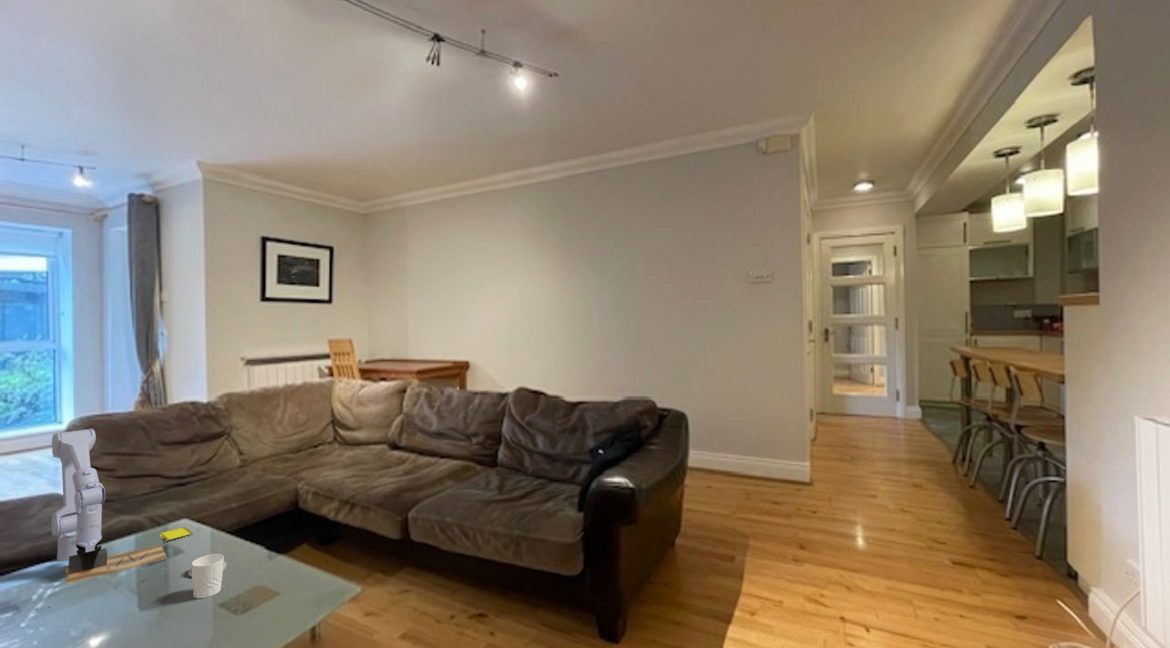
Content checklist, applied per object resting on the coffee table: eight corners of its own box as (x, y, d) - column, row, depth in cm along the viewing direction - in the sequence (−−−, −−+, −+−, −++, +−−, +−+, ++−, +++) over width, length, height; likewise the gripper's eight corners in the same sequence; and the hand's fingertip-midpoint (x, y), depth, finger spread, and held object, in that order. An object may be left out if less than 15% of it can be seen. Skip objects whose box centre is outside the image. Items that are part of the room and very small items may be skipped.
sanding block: (67, 572, 158) (68, 556, 158) (106, 562, 165) (106, 547, 165) (68, 577, 155) (68, 561, 155) (107, 567, 161) (108, 552, 161)
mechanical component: (180, 577, 159) (205, 580, 157) (180, 563, 159) (205, 567, 157) (209, 562, 169) (233, 566, 167) (209, 550, 169) (233, 553, 167)
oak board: (64, 570, 161) (64, 566, 161) (160, 547, 179) (160, 543, 179) (66, 588, 151) (66, 584, 151) (167, 561, 168) (167, 558, 168)
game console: (183, 529, 197) (183, 525, 197) (194, 536, 190) (194, 532, 190) (123, 545, 181) (123, 541, 181) (133, 553, 175) (133, 549, 175)
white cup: (229, 588, 152) (230, 556, 153) (202, 602, 145) (203, 568, 145) (211, 584, 155) (212, 552, 155) (184, 596, 148) (185, 563, 148)
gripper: (70, 522, 162) (69, 563, 162) (72, 535, 152) (71, 579, 152) (100, 516, 167) (99, 556, 167) (104, 528, 157) (102, 571, 157)
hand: (88, 566), depth 160 cm, fingers closed on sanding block, 5 cm apart
